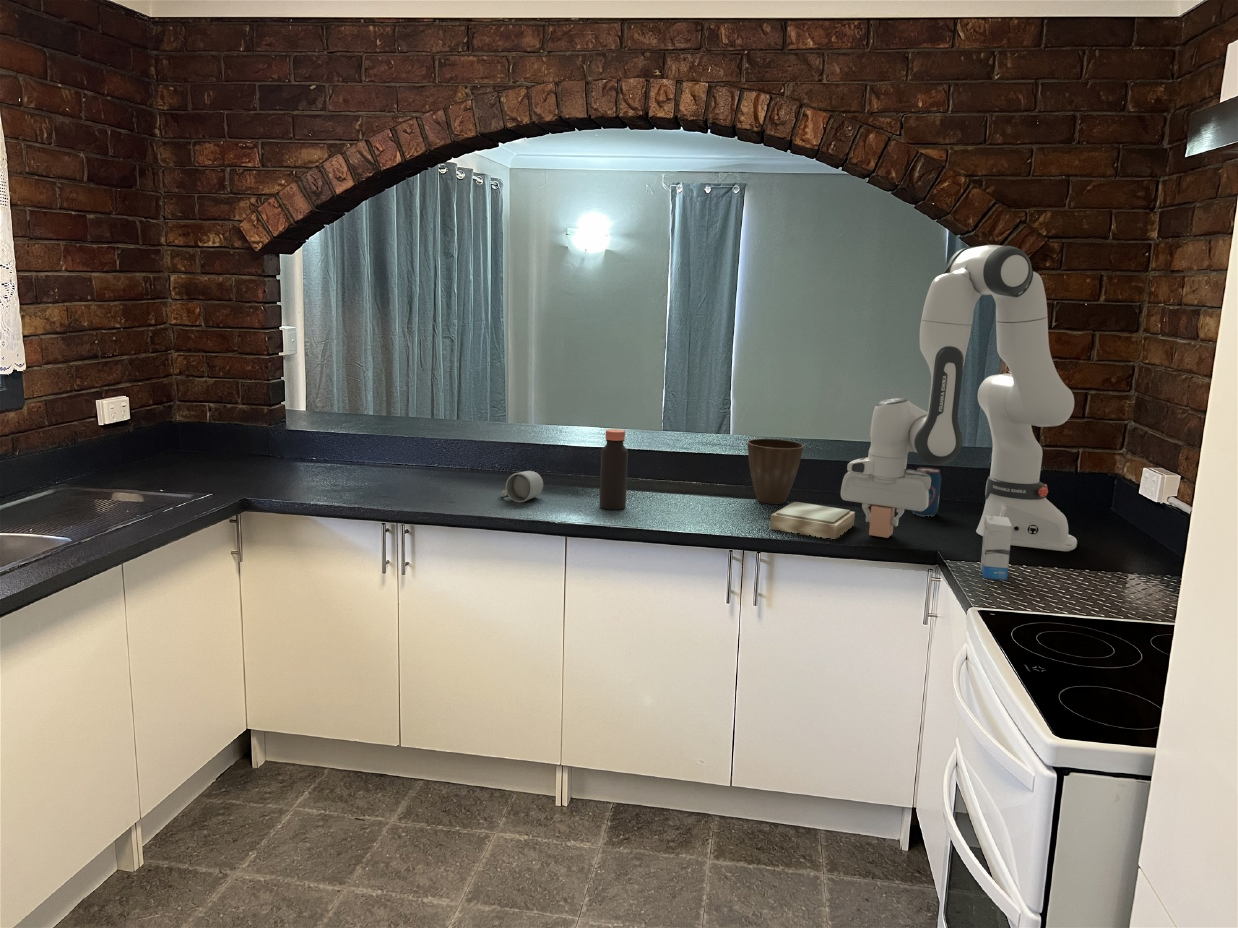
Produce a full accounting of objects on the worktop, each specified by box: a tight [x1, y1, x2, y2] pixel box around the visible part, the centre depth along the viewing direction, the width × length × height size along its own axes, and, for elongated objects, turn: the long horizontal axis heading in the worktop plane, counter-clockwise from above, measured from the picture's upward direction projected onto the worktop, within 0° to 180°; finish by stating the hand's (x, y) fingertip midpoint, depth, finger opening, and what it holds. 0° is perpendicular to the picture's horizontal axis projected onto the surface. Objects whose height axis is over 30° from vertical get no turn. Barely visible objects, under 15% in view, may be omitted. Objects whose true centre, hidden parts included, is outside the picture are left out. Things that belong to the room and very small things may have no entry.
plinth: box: [769, 501, 856, 540], centre depth 233 cm, size 16×16×4 cm
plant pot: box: [747, 438, 805, 505], centre depth 257 cm, size 15×15×16 cm
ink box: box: [980, 515, 1012, 581], centre depth 200 cm, size 9×5×12 cm, turn 163°
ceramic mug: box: [500, 470, 544, 503], centre depth 250 cm, size 11×8×8 cm
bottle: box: [598, 428, 629, 511], centre depth 243 cm, size 7×7×20 cm
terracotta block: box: [868, 504, 896, 539], centre depth 227 cm, size 4×4×7 cm
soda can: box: [911, 466, 942, 518], centre depth 250 cm, size 7×7×12 cm
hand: (881, 523), depth 227 cm, fingers closed on terracotta block, 4 cm apart
